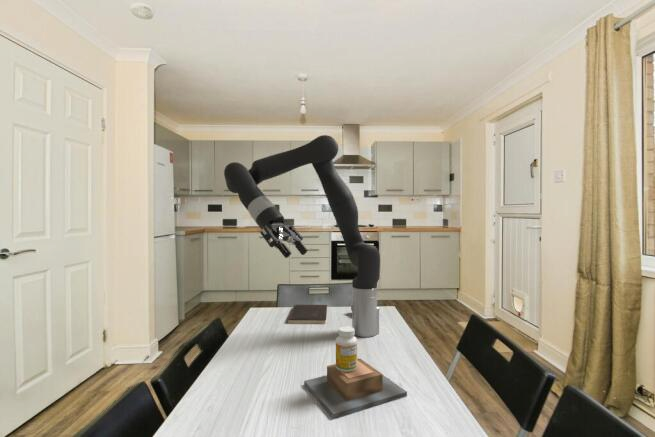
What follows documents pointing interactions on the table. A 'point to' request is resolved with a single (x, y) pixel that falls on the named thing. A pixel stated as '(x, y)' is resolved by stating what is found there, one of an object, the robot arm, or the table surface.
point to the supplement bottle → (346, 350)
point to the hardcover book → (308, 314)
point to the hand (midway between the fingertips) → (297, 254)
